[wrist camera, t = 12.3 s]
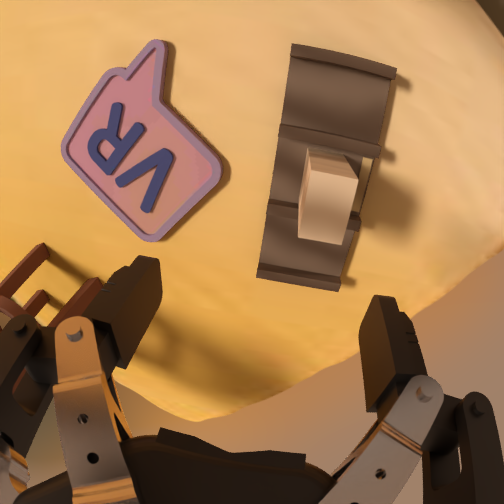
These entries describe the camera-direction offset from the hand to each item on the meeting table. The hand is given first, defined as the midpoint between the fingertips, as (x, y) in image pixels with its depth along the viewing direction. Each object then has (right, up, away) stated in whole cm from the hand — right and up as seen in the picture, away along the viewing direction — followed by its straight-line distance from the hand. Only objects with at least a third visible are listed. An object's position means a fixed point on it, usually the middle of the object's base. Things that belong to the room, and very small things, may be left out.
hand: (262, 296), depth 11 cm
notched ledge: (+7, +10, +20) cm, 23 cm away
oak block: (+7, +9, +19) cm, 22 cm away
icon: (-12, +15, +21) cm, 29 cm away
